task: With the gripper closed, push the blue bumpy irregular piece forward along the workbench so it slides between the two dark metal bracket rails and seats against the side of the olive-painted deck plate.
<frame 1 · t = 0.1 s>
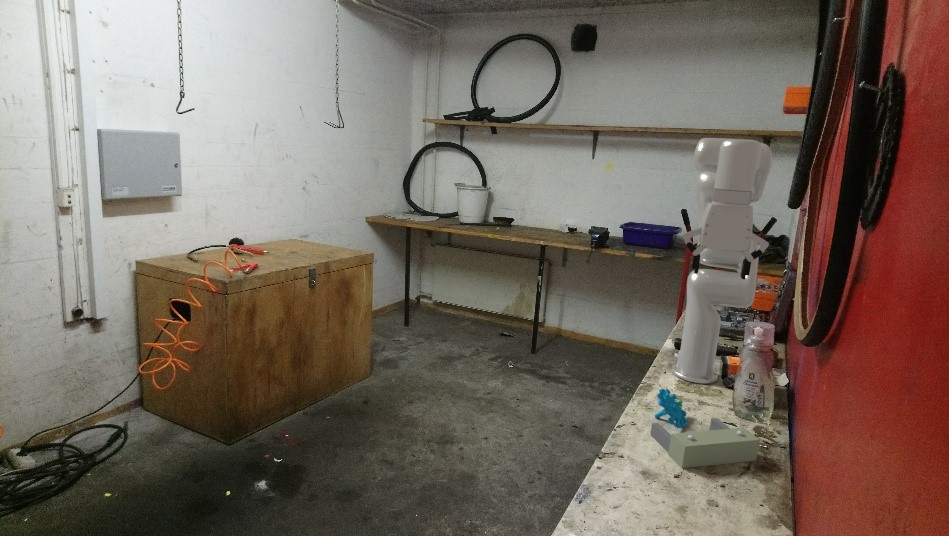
hand: (719, 275, 122), 37 cm above the worktop, tool pointing down, fingers open, 9 cm apart
deck: (696, 443, 123), on the worktop
blue bumpy irregular piece: (670, 422, 133), on the worktop
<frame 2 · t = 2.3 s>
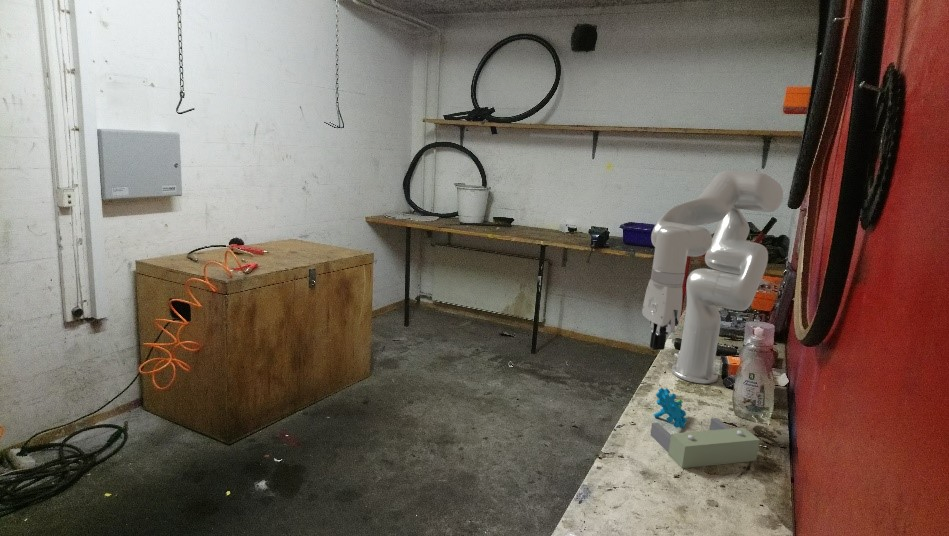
hand: (656, 348, 138), 15 cm above the worktop, tool pointing down, fingers closed
nothing on the worktop moved.
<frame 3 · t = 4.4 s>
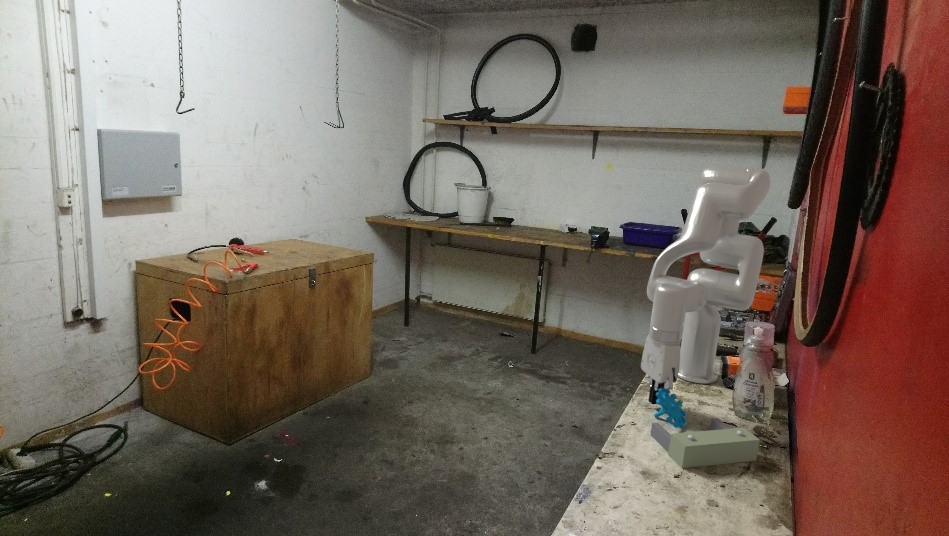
hand: (655, 402, 139), 1 cm above the worktop, tool pointing down, fingers closed
blue bumpy irregular piece: (669, 422, 133), on the worktop, touching gripper
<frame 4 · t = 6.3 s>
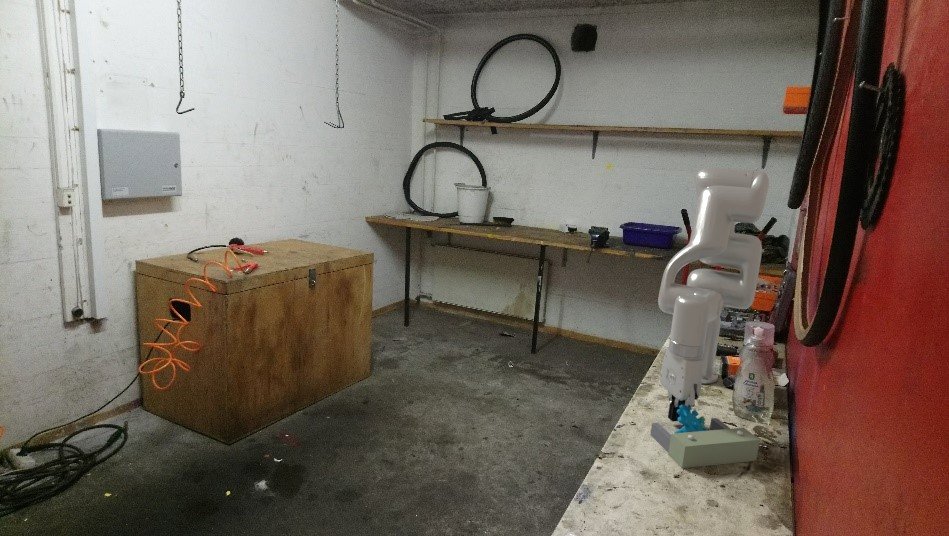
hand: (675, 419, 131), 1 cm above the worktop, tool pointing down, fingers closed
blue bumpy irregular piece: (691, 440, 125), on the worktop, touching deck, gripper
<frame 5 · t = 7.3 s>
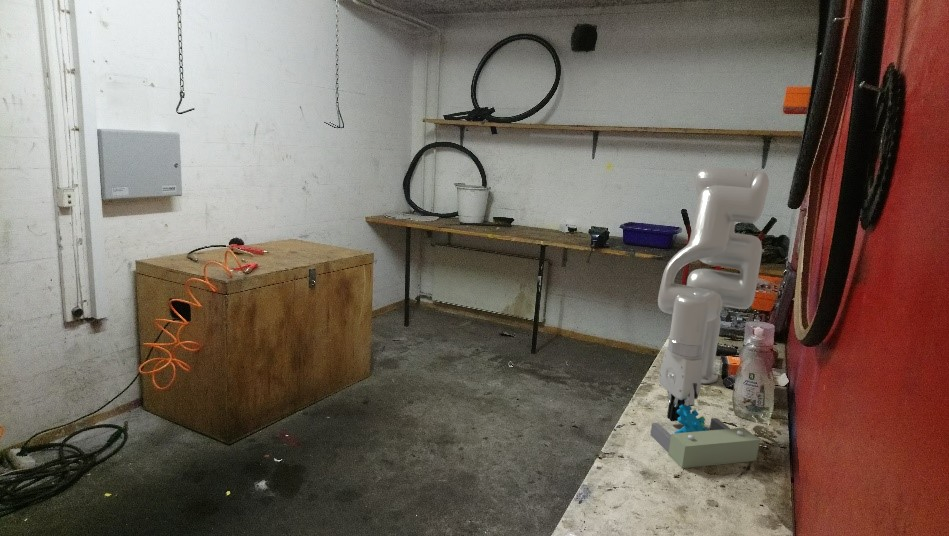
hand: (674, 419, 131), 1 cm above the worktop, tool pointing down, fingers closed
blue bumpy irregular piece: (691, 440, 125), on the worktop
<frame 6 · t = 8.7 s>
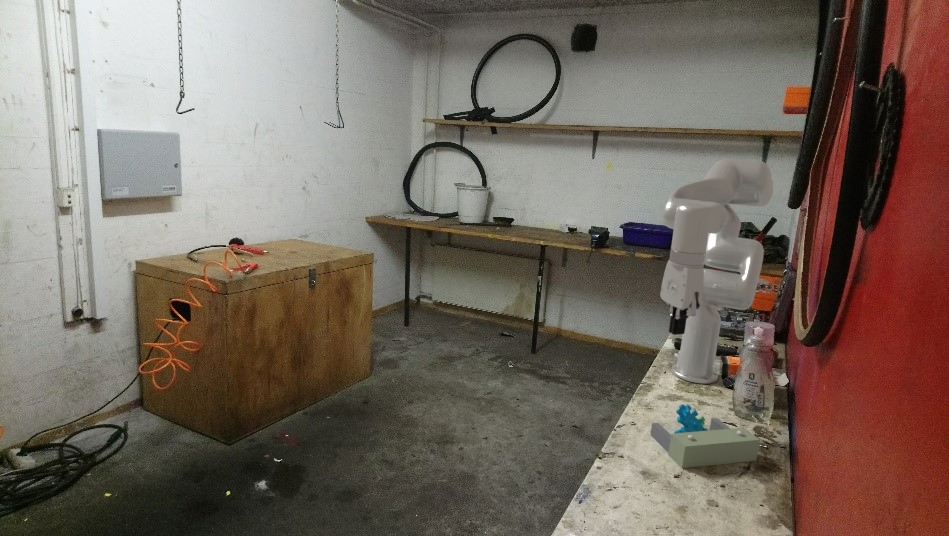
hand: (676, 333, 131), 21 cm above the worktop, tool pointing down, fingers closed
nothing on the worktop moved.
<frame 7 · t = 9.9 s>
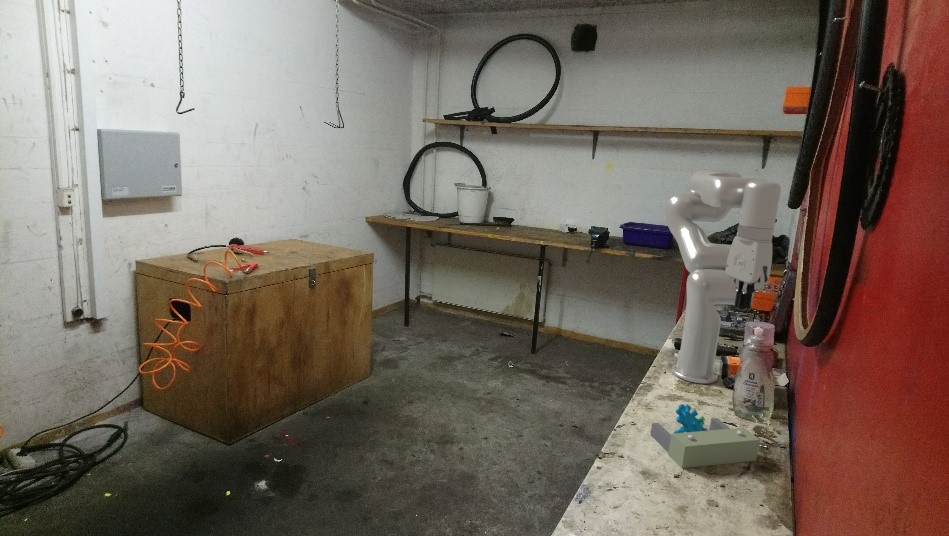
hand: (741, 307, 134), 27 cm above the worktop, tool pointing down, fingers closed
nothing on the worktop moved.
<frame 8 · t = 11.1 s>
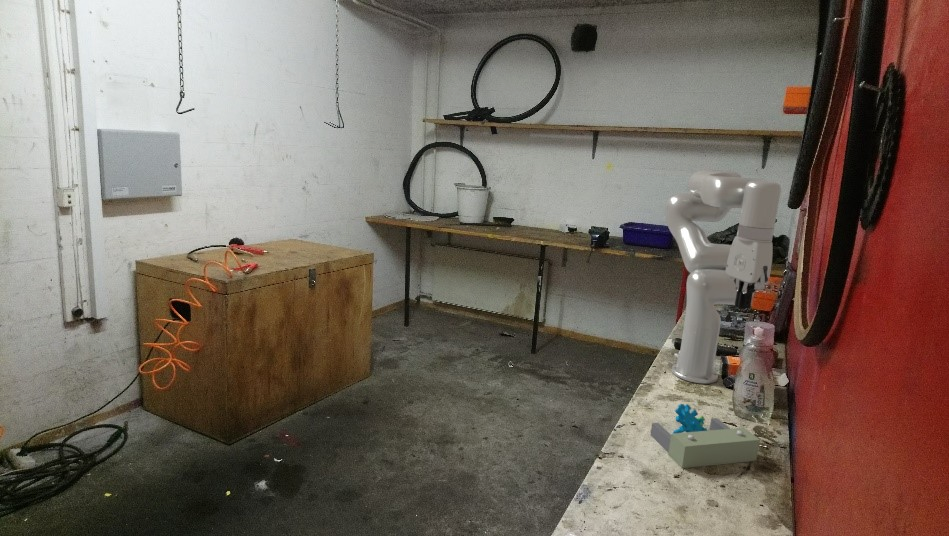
hand: (742, 307, 134), 27 cm above the worktop, tool pointing down, fingers closed
nothing on the worktop moved.
at the end: blue bumpy irregular piece inside the target area (1.0 cm from its centre), on the worktop; blue bumpy irregular piece moved 8.0 cm from its start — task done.
